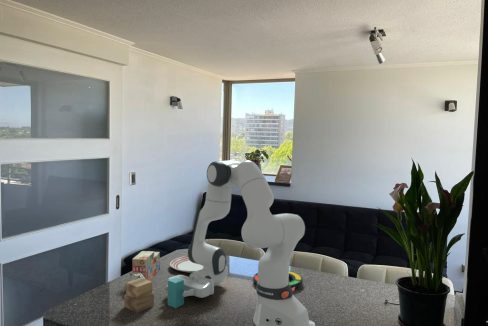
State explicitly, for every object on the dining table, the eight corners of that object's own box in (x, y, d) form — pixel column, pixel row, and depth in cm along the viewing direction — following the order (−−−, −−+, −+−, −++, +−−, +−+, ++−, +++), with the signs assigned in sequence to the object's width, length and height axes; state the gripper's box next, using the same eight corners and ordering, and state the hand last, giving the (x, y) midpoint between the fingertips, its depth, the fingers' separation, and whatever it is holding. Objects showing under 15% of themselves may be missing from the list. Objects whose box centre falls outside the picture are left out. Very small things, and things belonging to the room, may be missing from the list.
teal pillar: (183, 304, 150) (183, 279, 150) (175, 308, 147) (175, 283, 146) (176, 301, 153) (176, 277, 153) (167, 305, 149) (167, 280, 149)
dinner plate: (163, 276, 182) (163, 269, 182) (176, 259, 209) (176, 253, 209) (220, 277, 181) (220, 270, 181) (225, 260, 208) (225, 254, 208)
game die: (132, 300, 162) (118, 282, 161) (145, 287, 169) (131, 270, 168) (143, 295, 157) (128, 276, 156) (156, 282, 164) (141, 264, 163)
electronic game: (307, 279, 180) (307, 269, 180) (295, 297, 159) (296, 286, 159) (262, 272, 189) (262, 263, 189) (245, 289, 168) (245, 278, 168)
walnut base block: (153, 306, 149) (153, 293, 148) (137, 313, 142) (137, 300, 142) (140, 300, 153) (140, 288, 153) (124, 307, 147) (124, 295, 147)
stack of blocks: (148, 269, 191) (148, 245, 191) (160, 269, 191) (160, 246, 190) (132, 285, 170) (132, 258, 169) (145, 285, 169) (145, 258, 169)
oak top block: (152, 294, 148) (152, 281, 148) (137, 299, 142) (137, 287, 142) (141, 289, 152) (141, 277, 152) (126, 295, 147) (126, 282, 147)
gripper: (181, 269, 166) (157, 277, 155) (216, 279, 154) (192, 289, 143) (181, 283, 167) (157, 292, 155) (216, 294, 154) (192, 306, 143)
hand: (174, 291), depth 149 cm, fingers open, 8 cm apart
